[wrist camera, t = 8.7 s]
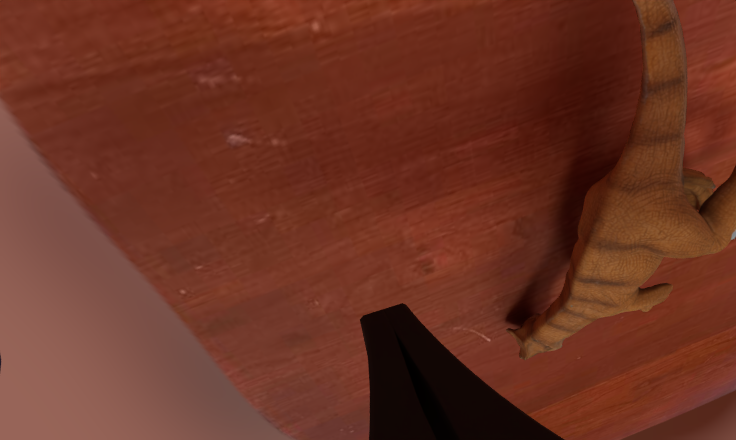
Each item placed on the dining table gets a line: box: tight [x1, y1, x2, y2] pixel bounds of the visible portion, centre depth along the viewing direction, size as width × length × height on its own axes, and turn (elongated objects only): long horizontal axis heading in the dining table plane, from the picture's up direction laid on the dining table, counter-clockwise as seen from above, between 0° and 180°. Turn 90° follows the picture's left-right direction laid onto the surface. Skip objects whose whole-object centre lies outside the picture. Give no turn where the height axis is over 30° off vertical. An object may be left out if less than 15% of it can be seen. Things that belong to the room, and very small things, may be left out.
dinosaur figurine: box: [506, 0, 736, 360], centre depth 15 cm, size 7×22×12 cm
